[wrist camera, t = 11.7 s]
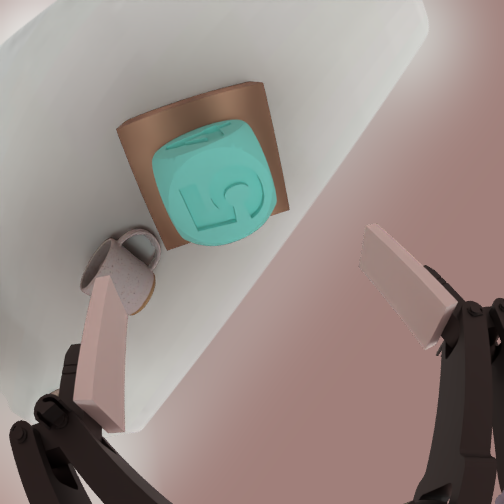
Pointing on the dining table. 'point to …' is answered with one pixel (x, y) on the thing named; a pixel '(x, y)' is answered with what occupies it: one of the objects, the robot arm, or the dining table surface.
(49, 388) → the dining table surface
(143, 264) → the ceramic mug
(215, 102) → the walnut block
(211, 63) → the dining table surface
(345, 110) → the dining table surface
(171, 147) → the decorative dice
